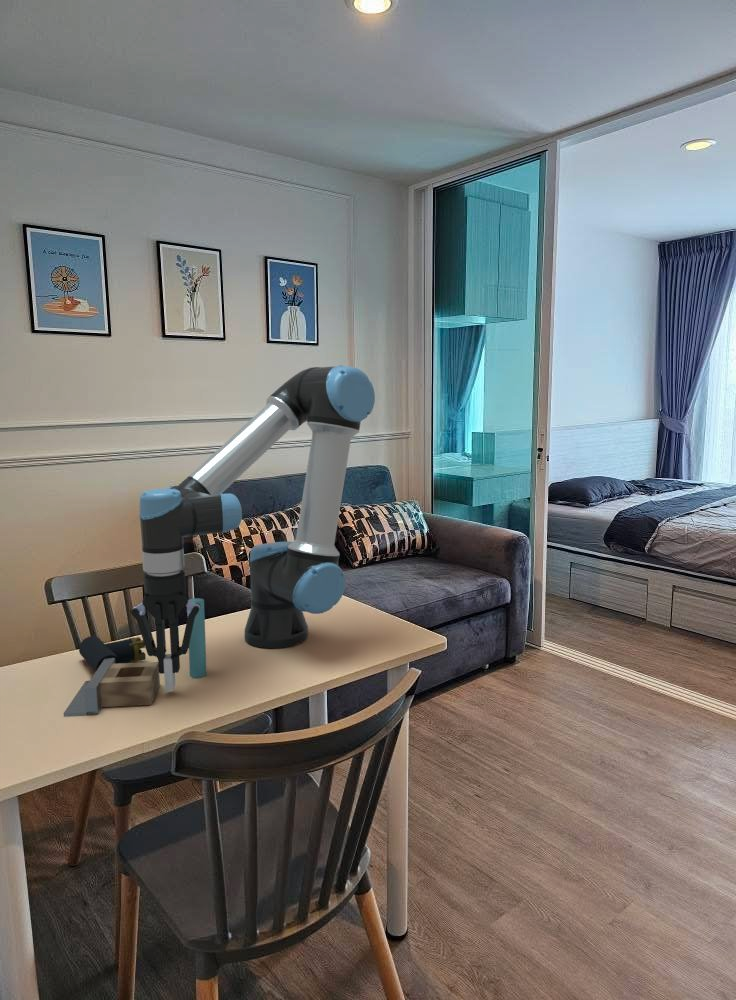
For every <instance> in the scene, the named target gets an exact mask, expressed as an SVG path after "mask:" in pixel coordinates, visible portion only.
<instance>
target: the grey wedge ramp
mask: <svg viewBox="0 0 736 1000" xmlns="http://www.w3.org/2000/svg"><path fill="white" fill-rule="evenodd" d="M112 664H115V658H105V659H104V660H103V662H102V663H101V665H100V666H99V668H98V669H97V671H96V672H95V671H94V674H93V675H92V677H91V678H90V679H89V680H85V681H84V683H83V684H82V686H81V687H80V689H79V690H78V691H77V693H76V694H75V696H74V697H73V698H72V700H71V702H70V703H69V705H68V706H67V707H66V708H65V710H64V711H63V717H73V716H74V717H75V716H78V717H79V716H95V715H99V714H100V712H101V710H102V708H103V707H102V706H101V690H100V682H101V681H102V679H103V677H104V676H105V674H106V673H107V671H108V670H109V668H110V666H111V665H112Z"/></svg>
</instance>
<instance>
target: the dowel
mask: <svg viewBox="0 0 736 1000" xmlns="http://www.w3.org/2000/svg"><path fill="white" fill-rule="evenodd" d="M189 600H190V601H192V602H193V603H195V604H196V603H199V604H200V605H201V607H200V609H199V612H198V613H197V615H196V616H195V620H194V625H193V630H192V634H191V639H190V644H189V648H188V656H189V657H188V659H189V661H188V662H189V666H188V667H189V677H190V678H192V679H199V678H205V676H207V674H208V673H207V670H208V669H207V650H206V649H207V648H206V622H205V621H206V619H205V618H206V617H205V616H206V615H205V599H203V598H200V597H198V598H197V597H196V598H189ZM186 613H187V612H186ZM186 616H187V617H188V616H189V614H188V613H187V615H186Z"/></svg>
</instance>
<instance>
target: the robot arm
mask: <svg viewBox="0 0 736 1000" xmlns="http://www.w3.org/2000/svg"><path fill="white" fill-rule="evenodd" d="M373 385H374V384H373V383H372V381H371V380H370V379H369V377H368V375H367V374H366V372H364V371H362V370H361V369H360V368H358V367H353V366H346V365H342V364H341V365H336V366H325V367H324V366H323V367H322V366H320V367H319V366H315V367H314V366H313V367H308V368H306V369H303V370H301V371H299V372H298V373H296V374H295V375H293V376H291V378H289V379H288V380H286V382H284V383H283V384H282V385H281V386H280V387H278V388H277V389H276V390H275V391H274V392H273V393H272V394H270V395H269V396H268V397H267V399H266V401H265V402H266V405H265V406H264V407H263V408H262V409H261V410H259V411H258V413H256V414H255V415H254V416H253V417H252V418H251V419H250V420H248V421H247V422H246V424H244V425H243V426H242V427H241V428H240V429H239V430H238V431H237V432H235V433H234V434H233V435H232V436H231V437H230V438H229V439H228V440H227V441H226V442H224V444H223V445H221V446H220V447H219V448H217V450H216V451H214V453H213V454H211V455H210V456H209V457H208V458H207V459H206V460H205V461H204V462H203V463H201V465H199V466H198V467H197V468H196V469H195V470H194V471H193V472H191V474H189V476H187V477H186V478H185V479H184V480H183V481H181V482H180V483H179V484H178V485H172V486H168V487H166V488H154V489H148V490H145V491H144V492H142V493H141V495H140V497H139V514H138V518H139V522H140V534H141V535H140V536H141V544H142V545H141V554H142V570H143V572H144V574H143V588H144V596H143V598H142V601H141V603H139V604H138V605H134V607H133V608H132V609H131V610H130V614H131V615H132V617H133V618H134V619H135V621H136V622H137V626H138V628H139V629H138V630H139V632H140V635H141V639H142V640H143V641H144V645H145V648H144V649H145V650H146V654H147V655H148V656H149V657H152V656H153V657H156V658H157V662H158V668H159V675H163V674H164V675H163V676H164V692H174V690H175V687H176V674H178V673H179V670H180V669H181V662H180V661H181V660H180V656H182V655H186V654H187V653H188V652H189V644H190V639H191V634H192V630H193V625H194V620H195V616H196V615H197V613H198V612H199V609H200V607H201V605H200V604H199V603H196V604H195V603H193V602H192V601H190V597H189V595H188V593H187V589H186V573H185V570H184V568H185V553H184V546H185V545H184V538H189V537H190V538H191V537H196V536H202V535H203V536H204V535H212V534H218V533H221V534H223V533H226V532H230V531H234V530H237V528H239V526H241V523H242V519H243V511H242V505H241V503H240V500H239V499H238V497H237V496H236V495H235V494H233V493H224V492H225V491H226V490H227V489H228V488H229V487H230V486H232V484H233V483H234V482H236V481H237V480H238V479H239V478H240V477H241V476H242V475H243V474H244V473H245V472H246V471H248V469H250V467H252V466H253V464H255V462H257V461H258V460H259V459H260V458H261V457H262V456H263V455H264V454H265V453H266V452H267V451H268V450H269V449H271V448H272V447H273V446H274V445H275V444H276V443H277V442H278V441H279V440H280V439H281V438H282V437H283V436H285V434H286V433H288V432H289V431H296V430H297V429H298V428H299V427H300V426H302V425H303V424H305V423H306V425H307V426H308V427H309V429H310V430H311V433H312V435H311V441H310V446H309V447H310V449H309V453H308V454H309V455H308V460H307V465H306V473H305V479H304V485H303V492H302V498H301V504H300V512H299V518H298V524H297V530H296V535H295V540H293V541H274V542H267V543H262V544H257V545H254V546H252V548H251V550H250V551H249V552H250V553H249V554H250V555H249V561H248V562H249V568H250V569H249V570H250V571H249V574H250V575H249V576H250V599H251V600H250V604H251V605H250V606H251V608H250V611H249V614H248V617H247V620H246V624H245V627H244V641H245V642H246V643H247V644H248V645H250V646H253V647H256V648H261V649H262V648H263V649H282V648H290V647H293V646H296V645H299V644H302V643H303V642H305V641H306V640H307V639H308V637H309V626H308V623H307V621H306V617H305V614H304V612H305V613H310V614H312V615H313V614H314V615H317V614H324V613H326V612H328V611H330V610H331V609H332V608H333V607H334V606H336V605H337V604H338V603H339V602H340V600H341V599H342V597H343V594H344V592H345V589H346V582H347V581H346V576H345V574H344V573H343V570H342V568H341V567H340V566H339V559H340V555H341V554H340V551H338V549H337V548H336V546H335V543H336V536H337V529H338V523H339V518H340V517H339V516H340V510H341V503H342V498H343V497H342V496H343V493H344V492H343V491H344V486H345V485H344V484H345V480H346V473H347V466H348V460H349V453H350V447H351V440H352V438H353V437H355V436H357V434H358V433H360V427H361V422H362V421H364V420H365V419H367V418H368V416H369V415H370V414H371V413H372V412H373V409H374V406H375V401H376V400H375V399H376V397H375V396H376V395H375V388H374V386H373ZM185 608H186V613H188V614H189V616H187V619H186V623H185V629H184V632H183V638H182V643H181V646H180V635H179V633H180V632H179V616H180V615H181V613H182V612H183V610H184V609H185ZM147 611H148V612H149V614H150V615H151V616H152V617H153V618H154V625H155V639H156V643H155V640H154V637H153V633H152V631H151V630H152V629H151V627H150V624H149V621H148V617H147V616H146V612H147ZM165 619H166V620H168V624H169V641H170V653H166V652H167V645H166V644H167V643H166V641H167V640H166V626H165V624H166V623H165Z"/></svg>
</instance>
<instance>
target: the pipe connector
mask: <svg viewBox="0 0 736 1000" xmlns="http://www.w3.org/2000/svg"><path fill="white" fill-rule="evenodd" d="M140 637H141V636H138V637H128V638H127V639H122V640H118V641H113V642H107V643H104V642H103V641H102V639H100V638H99V637H98V636H96V635H95V636H94V635H93V636H92V635H91V636H87V637H86V638H84V639H82V641H81V642H80V644H79V646H78V651H79V652H78V653H79V654H80V656H81V657H82V658H83V659H84V661H85V662H86V663H87V664H88V665H89V667H90V668H91V669H92V670H93V671H94V673H95V672H96V671H97V669H98V668H99V666H100V665H101V663H102V662H103V660H104V659H105V658H115V664H119V663H139V662H142V661H145V660H146V657H147V655H146V652H144V651H142V649H146V648H145V645H144V641H143V639H142V637H141V638H140Z"/></svg>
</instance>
